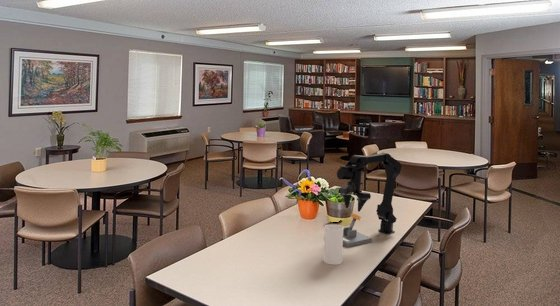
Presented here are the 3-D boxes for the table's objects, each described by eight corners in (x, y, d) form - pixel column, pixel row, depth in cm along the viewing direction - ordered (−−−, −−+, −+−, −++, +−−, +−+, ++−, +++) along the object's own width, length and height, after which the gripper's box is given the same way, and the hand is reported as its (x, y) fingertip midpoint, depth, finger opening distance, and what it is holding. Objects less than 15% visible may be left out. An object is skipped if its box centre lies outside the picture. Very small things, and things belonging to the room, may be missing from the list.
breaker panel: (348, 231, 236) (348, 222, 235) (371, 241, 221) (372, 231, 220) (325, 236, 227) (325, 226, 226) (348, 247, 212) (348, 236, 211)
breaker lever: (345, 233, 226) (354, 214, 227) (352, 236, 222) (361, 217, 223) (343, 232, 225) (352, 213, 226) (349, 234, 221) (358, 215, 222)
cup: (329, 256, 200) (330, 223, 198) (345, 260, 195) (346, 226, 193) (320, 261, 193) (321, 227, 191) (336, 266, 188) (338, 231, 186)
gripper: (331, 177, 225) (329, 206, 226) (356, 182, 209) (353, 214, 210) (348, 177, 231) (345, 206, 232) (372, 182, 215) (369, 213, 216)
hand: (352, 209), depth 222 cm, fingers open, 9 cm apart
